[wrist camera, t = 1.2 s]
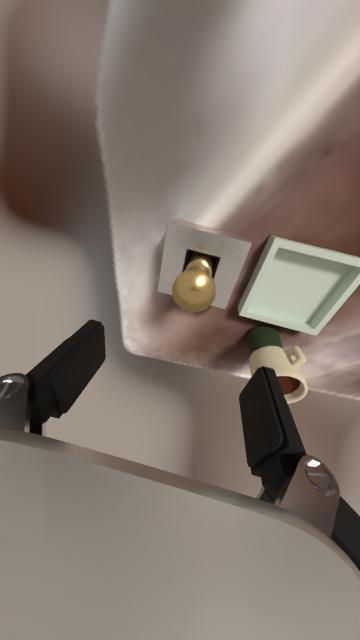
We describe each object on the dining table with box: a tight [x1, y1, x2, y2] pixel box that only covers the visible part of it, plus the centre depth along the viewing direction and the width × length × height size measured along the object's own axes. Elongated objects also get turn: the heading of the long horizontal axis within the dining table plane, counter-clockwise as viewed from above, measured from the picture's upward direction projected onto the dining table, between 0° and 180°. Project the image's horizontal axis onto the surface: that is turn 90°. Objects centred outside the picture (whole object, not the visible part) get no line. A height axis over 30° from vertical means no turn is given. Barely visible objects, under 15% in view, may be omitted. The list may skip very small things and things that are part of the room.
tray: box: [237, 235, 360, 335], centre depth 29 cm, size 13×14×3 cm
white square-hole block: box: [158, 219, 252, 309], centre depth 28 cm, size 10×11×6 cm
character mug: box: [246, 326, 308, 404], centre depth 31 cm, size 11×7×13 cm, turn 154°
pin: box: [172, 251, 216, 312], centre depth 24 cm, size 5×5×14 cm
